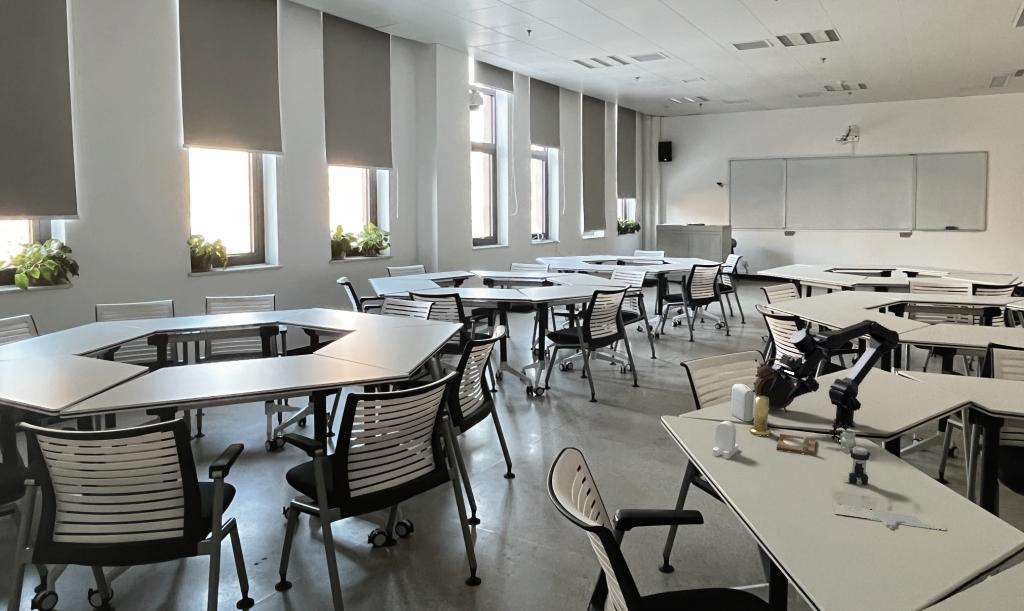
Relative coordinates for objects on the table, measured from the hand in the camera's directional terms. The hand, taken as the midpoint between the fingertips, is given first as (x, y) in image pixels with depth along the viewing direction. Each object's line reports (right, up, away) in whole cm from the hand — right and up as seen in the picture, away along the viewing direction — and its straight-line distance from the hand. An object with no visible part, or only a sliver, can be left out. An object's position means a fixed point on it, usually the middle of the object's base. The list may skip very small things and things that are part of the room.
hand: (779, 395), depth 242 cm
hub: (-6, -13, +1) cm, 14 cm away
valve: (+16, -15, -14) cm, 26 cm away
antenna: (+5, -23, -59) cm, 63 cm away
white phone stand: (-24, -16, -18) cm, 34 cm away
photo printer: (-7, -10, +17) cm, 21 cm away
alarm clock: (+8, -9, +25) cm, 28 cm away
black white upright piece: (+6, -20, -42) cm, 46 cm away
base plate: (+1, -15, -12) cm, 19 cm away
